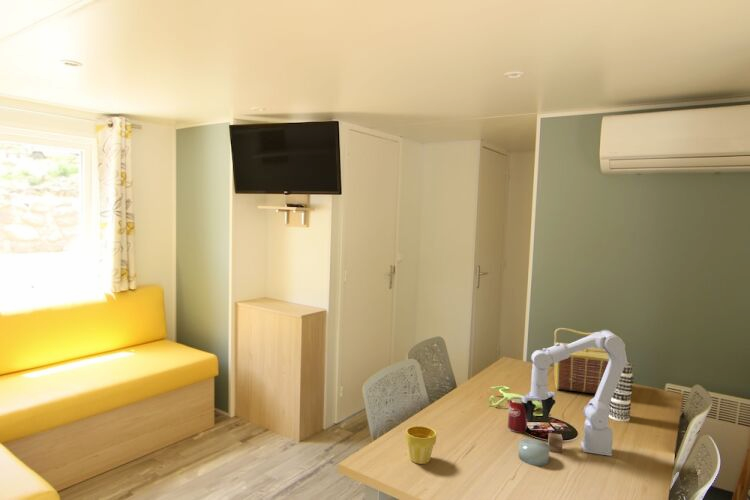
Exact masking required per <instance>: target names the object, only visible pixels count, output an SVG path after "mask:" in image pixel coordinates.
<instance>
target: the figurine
mask: <svg viewBox="0 0 750 500" xmlns="http://www.w3.org/2000/svg"><path fill="white" fill-rule="evenodd" d="M498 389H499V390H498ZM490 390H498V391H499V393H500V394H502V395H503V398H501V399H500V400H498V401H497V402H495V395H491V396H490V397H489V402H488V407H491V404H492V406H493V407H497V406H499V405H500V404H502V403H504V402H505V401H506V400H508V401H509V400H510V398H512V397H521V398H522V396H524V395H522V394H518V393H510V390H511V388H510V387H508V386H505V385H497V386H490ZM532 402H533V404H535V405H536V406H535V409H534V411H536V410H537V409H542V401H541V400H536V401H532ZM536 416H543V415H542V413H540V414H538V413H535V412H533V417H536Z"/></svg>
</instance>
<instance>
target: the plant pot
mask: <svg viewBox="0 0 750 500" xmlns="http://www.w3.org/2000/svg"><path fill="white" fill-rule="evenodd" d="M405 441H406V444H407V446H408V447H407V448H408V452H409V454H408V455H409V459H410V461H411V462H413V463H415V464H418V465H426V464H428V463H429V462H430V460H431V456H432V451H433V450H434V449H433V448H434V446H435V445H436V442H437V432H436V431H435V429H433V428H431V427H429V426H424V425H413V426H410V427H408V428H406V431H405Z"/></svg>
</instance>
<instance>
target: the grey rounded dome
mask: <svg viewBox="0 0 750 500" xmlns="http://www.w3.org/2000/svg"><path fill="white" fill-rule="evenodd" d="M518 444H519V446H518V458H519V460H520V461H522V462H523V463H525V464H527V465H530V466H536V467H544V466H546V465H548V464H549V462H550V461H549V460H550V451H549V446H548V443H546V442H545V441H542V440H539V439H535V438H523V439H521V440H520V441H519V443H518Z"/></svg>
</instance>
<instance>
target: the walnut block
mask: <svg viewBox="0 0 750 500" xmlns="http://www.w3.org/2000/svg"><path fill="white" fill-rule="evenodd" d="M563 444H564V439H563V436H562V434H561V433H560V434H559V433H554V432H553V433H551V432H548V437H547V445H548V446H549V452H551V453H553V452H554V453H557V454H563Z"/></svg>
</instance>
